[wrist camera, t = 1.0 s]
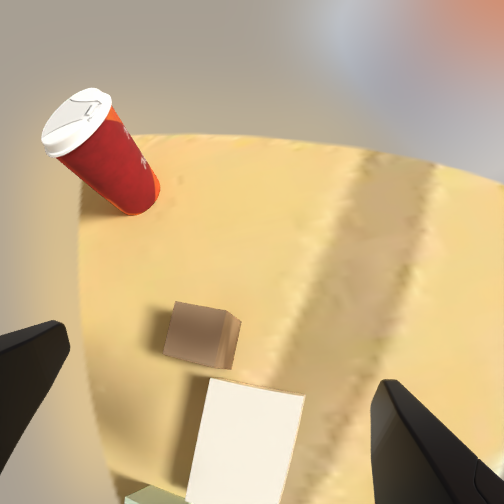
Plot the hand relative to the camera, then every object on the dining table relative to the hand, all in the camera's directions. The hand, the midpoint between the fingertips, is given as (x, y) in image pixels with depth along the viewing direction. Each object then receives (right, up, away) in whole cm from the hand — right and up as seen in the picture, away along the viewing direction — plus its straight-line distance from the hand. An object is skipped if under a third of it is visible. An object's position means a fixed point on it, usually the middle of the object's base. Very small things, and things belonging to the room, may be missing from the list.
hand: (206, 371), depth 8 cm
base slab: (+1, -13, +14) cm, 19 cm away
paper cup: (-12, +10, +27) cm, 31 cm away
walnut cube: (-2, -5, +19) cm, 19 cm away
